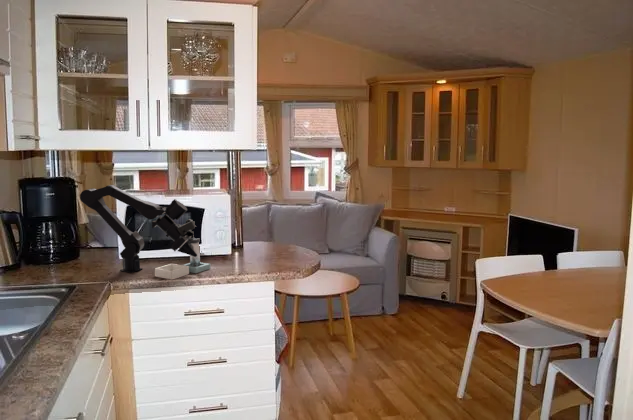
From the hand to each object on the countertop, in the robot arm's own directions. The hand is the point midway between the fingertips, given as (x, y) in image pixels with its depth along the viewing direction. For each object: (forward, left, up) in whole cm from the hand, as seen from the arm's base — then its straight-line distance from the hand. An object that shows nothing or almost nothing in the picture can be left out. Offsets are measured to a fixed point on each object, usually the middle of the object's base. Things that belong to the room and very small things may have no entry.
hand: (198, 253), depth 212 cm
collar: (-1, -1, -7) cm, 7 cm away
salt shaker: (-1, -1, -7) cm, 7 cm away
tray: (-3, -12, -7) cm, 14 cm away
